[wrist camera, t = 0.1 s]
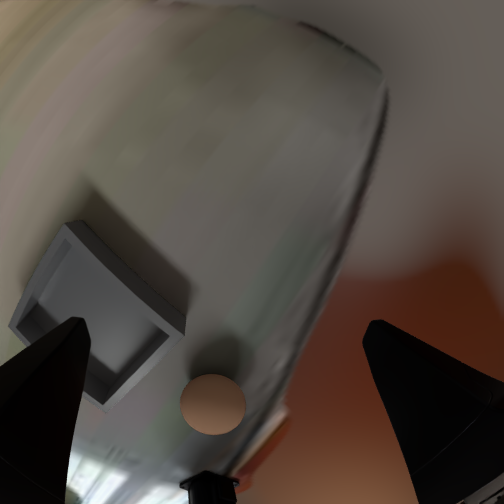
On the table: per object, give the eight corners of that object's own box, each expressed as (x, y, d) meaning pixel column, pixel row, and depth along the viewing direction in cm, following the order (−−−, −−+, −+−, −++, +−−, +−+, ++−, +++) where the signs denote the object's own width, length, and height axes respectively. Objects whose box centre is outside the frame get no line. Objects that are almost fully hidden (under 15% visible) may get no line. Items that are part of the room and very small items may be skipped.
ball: (214, 414, 26) (219, 454, 20) (169, 386, 24) (165, 427, 18) (252, 382, 26) (265, 421, 20) (207, 351, 24) (211, 390, 18)
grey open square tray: (113, 392, 23) (106, 413, 20) (25, 313, 20) (8, 326, 17) (186, 317, 23) (184, 335, 20) (82, 219, 20) (64, 223, 17)
